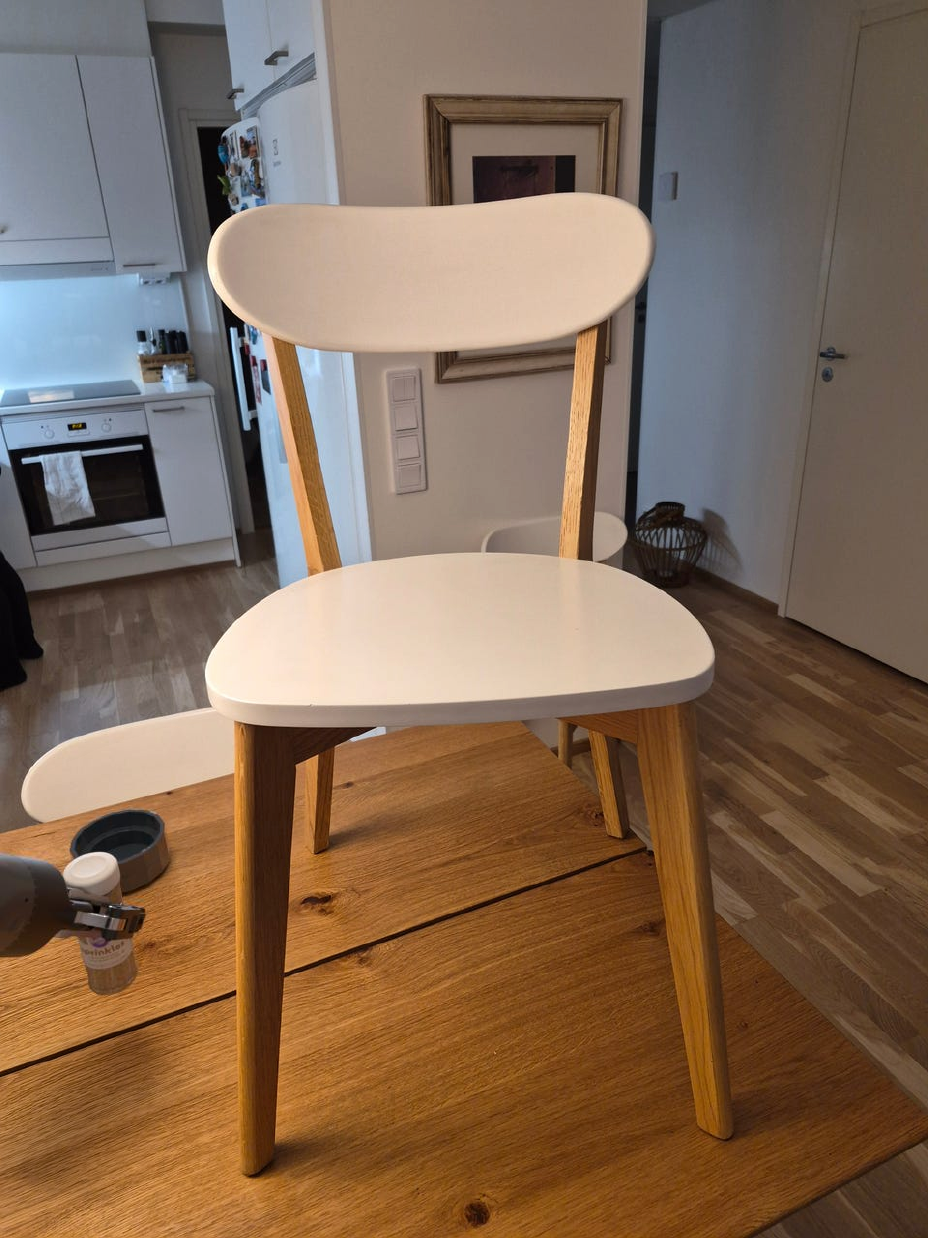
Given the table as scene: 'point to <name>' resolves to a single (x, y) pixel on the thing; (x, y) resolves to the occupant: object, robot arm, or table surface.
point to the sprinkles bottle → (103, 959)
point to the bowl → (127, 844)
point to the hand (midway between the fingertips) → (116, 915)
